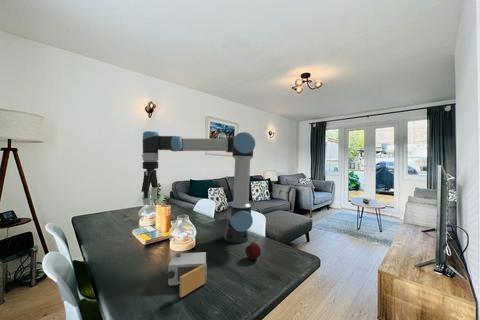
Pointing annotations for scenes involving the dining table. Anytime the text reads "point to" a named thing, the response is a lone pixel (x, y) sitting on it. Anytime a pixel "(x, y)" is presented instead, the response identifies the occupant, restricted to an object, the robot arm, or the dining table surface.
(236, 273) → the dining table surface
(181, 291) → the side door
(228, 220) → the robot arm
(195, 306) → the dining table surface
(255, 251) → the apple
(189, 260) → the small grey cabinet
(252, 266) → the dining table surface
